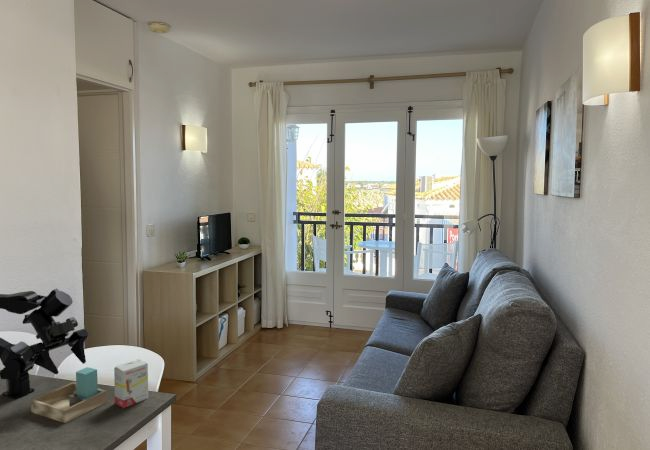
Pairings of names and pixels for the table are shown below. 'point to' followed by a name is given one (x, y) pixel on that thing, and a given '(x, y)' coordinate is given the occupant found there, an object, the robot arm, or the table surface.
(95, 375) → the plug
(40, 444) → the table surface
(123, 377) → the ink box
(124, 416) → the table surface
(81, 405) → the walled box
